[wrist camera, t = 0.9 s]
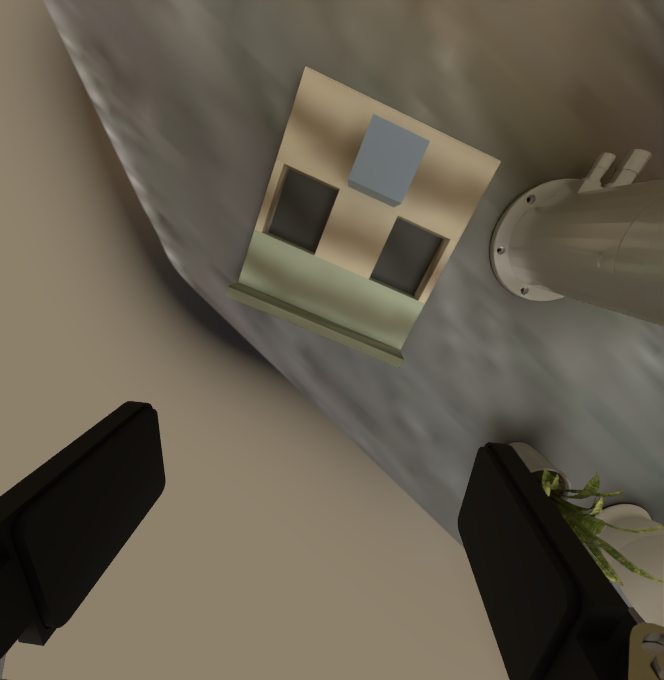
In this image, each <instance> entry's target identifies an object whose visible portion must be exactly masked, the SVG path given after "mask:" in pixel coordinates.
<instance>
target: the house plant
mask: <svg viewBox="0 0 664 680" xmlns="http://www.w3.org/2000/svg"><path fill="white" fill-rule="evenodd" d="M508 445H511V446H512V447H513V448H514V449H515V451H516V452H517V454H518V455H519V456H520V458H521V459H522V461H523V462H524V463H525V465H526V466H527V467H528V469H529V470H530V472H531V473H532V474H533V476H534V477H535V479H536V480H537V481H538V483H539V484H540V486H541V487H542V488H543V490H544V491H545V492H546V494H547V495H548V497H549V498H550V499H551V501H552V502H553V504H554V505H555V506H556V508H557V509H558V510H559V512H560V513H561V515H562V516H563V517H564V519H565V520H566V522H567V523H568V524H569V526H570V527H571V529H572V530H573V531H574V533H575V534H576V535H577V537H578V538H579V540H580V541H581V542H582V544H583V541H584V542H585V544H586V545H587V546H588V548H589V549H590V550H591V551H592V553H593V554H594V555H595V557H596V558H597V559H598V561H599V562H600V563H601V564H602V565H601V564H600V563H599V562H598V561H597V560H596V559H595V558H594V557H593V555H592V554H591V553H590V552H589V551H588V550H587V551H588V552H589V553H590V555H591V556H592V558H593V559H594V560H595V562H596V563H597V565H598V566H599V567H600V569H601V570H602V572H603V573H604V574H605V576H606V577H607V578H609V579H610V580H612V581H614V582H616V583H618V584H619V585H622V586H623V587H624V585H623V583H622V582H621V580H620V578H619V577H618V575H617V573H616V572H615V571H614V569H613V568H612V567H611V565H610V564H609V563H608V561H607V560H606V559H605V557H604V556H603V554H602V553H601V552H600V551H599V549H598V548H597V547H596V545H595V544H594V543H593V542H592V541H594V542H595V543H596V544H597V545H598V546H600V547H601V548H602V549H603V550H604V551H606V552H607V553H608V554H609V555H610V556H612V557H613V558H614V559H615V560H617V561H618V562H619V563H620V564H621V565H623V566H624V567H626V568H627V569H628V570H630V571H631V572H633V573H635V574H637V575H640V576H642V577H645V578H648V579H650V580H653V581H656V582H660V583H664V582H663V581H661V580H659V579H658V578H656V577H654V576H652V575H650V574H648V573H647V572H645V571H643V570H642V569H640V568H639V567H637V566H636V565H634V564H633V563H632V562H630V561H629V560H628V559H626V558H625V557H624V556H623V555H622V554H620V553H619V552H618V551H617V550H616V549H614V548H613V547H612V546H611V545H609V544H608V543H606V542H605V541H603V540H602V539H600V538H599V537H598V536H596V535H597V534H600V533H601V531H602V530H603V528H604V526H605V525H606V526H609V527H612V528H615V529H618V530H622V531H626V532H632V533H647V532H651V531H654V530H658V529H661V528H663V527H664V525H663V526H659V527H655V528H653V527H651V528H647V529H643V530H631V529H624V528H619V527H616V526H613V525H611V524H608V523H606V522H605V521H603V520H601V519H598V518H595V517H592V516H589V515H597V514H600V513H601V512H602V506H603V498H602V497H609V496H613V495H617V494H620V493H622V492H623V491H625V490H622V491H618V492H613V493H596V491H597V490H598V489H599V478H598V475H597V472H596V476H595V477H593V478H592V479H591V480H590V481H589V483H588V484H587V485H586V487H585V488H584V489H583V490H572V489H571V484H570V481H569V479H568V478H567V476H566V475H565V474H564V473H562V472H561V471H560V470H559V469H558V468H556V467H555V466H554V465H553V464H551V463H550V462H549V461H548V460H547V459H545V458H544V457H543V456H542V455H541V454H539V453H538V452H537V451H536V450H535V449H533V448H532V447H531V446H529V445H528V444H526V443H523V442H513V443H510V444H508ZM571 492H572V493H579V494H578V495H575V496H569V495H570V493H571ZM591 495H594V496H600V499H599V501H598V503H597V505H596V498H595V501H594V503H593V505H592V507H591V508H590V509H592V508H594V507H595V505H596V507H595V509H594V510H593V511H592V512H591V513H590V514H585V513H583V512H581V511H587V510H589V509H586V508H582V507H578V506H576V505H573V504H571V503H569V502H567V501H566V500H567V499H568V498H575V499H582V498H587V497H589V496H591ZM589 538H590V539H591V540H592V541H591V540H590V539H589ZM583 545H584V544H583ZM584 547H585V545H584ZM585 548H586V547H585ZM586 549H587V548H586ZM607 571H608V572H609V573H610V574H611V575H612V576H613V577H614V578H613V577H612V576H611V575H610V574H609V573H608V572H607ZM609 579H608V580H609ZM610 580H609V581H610ZM610 583H611V582H610ZM611 584H612V583H611Z"/></svg>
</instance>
